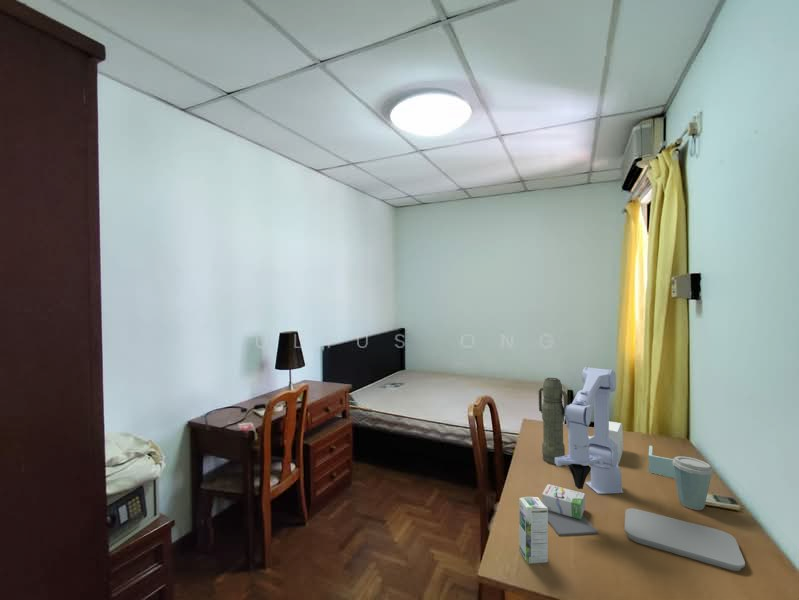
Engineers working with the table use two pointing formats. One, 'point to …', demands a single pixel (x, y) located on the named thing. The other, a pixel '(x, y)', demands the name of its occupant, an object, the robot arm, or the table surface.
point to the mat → (570, 525)
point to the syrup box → (533, 530)
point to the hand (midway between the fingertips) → (579, 487)
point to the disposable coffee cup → (692, 481)
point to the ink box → (564, 501)
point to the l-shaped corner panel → (660, 465)
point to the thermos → (552, 419)
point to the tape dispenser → (616, 436)
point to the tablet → (684, 539)
